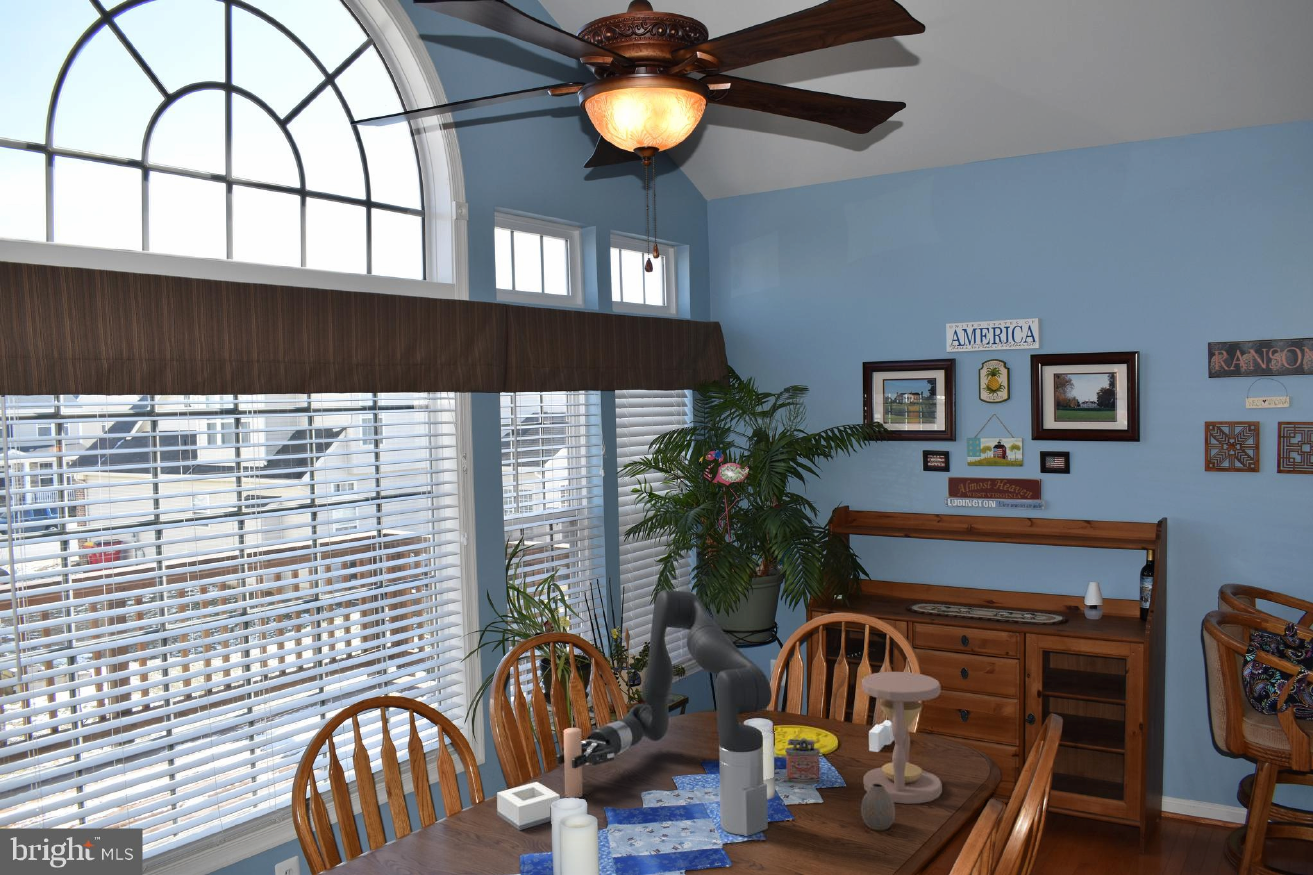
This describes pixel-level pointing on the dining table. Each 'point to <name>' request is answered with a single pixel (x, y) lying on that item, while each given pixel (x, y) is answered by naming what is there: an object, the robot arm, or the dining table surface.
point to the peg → (571, 751)
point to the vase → (878, 808)
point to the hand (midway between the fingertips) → (565, 762)
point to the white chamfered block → (880, 736)
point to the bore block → (526, 805)
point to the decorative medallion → (821, 737)
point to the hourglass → (902, 735)
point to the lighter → (802, 762)
